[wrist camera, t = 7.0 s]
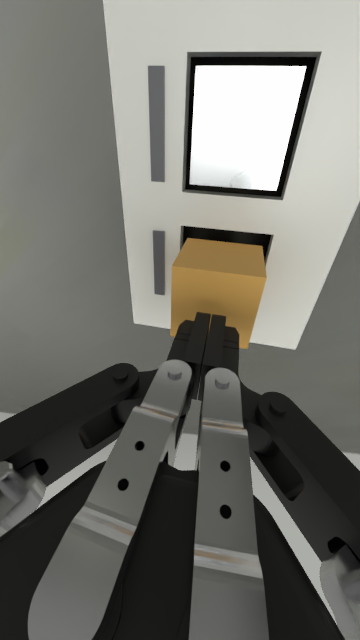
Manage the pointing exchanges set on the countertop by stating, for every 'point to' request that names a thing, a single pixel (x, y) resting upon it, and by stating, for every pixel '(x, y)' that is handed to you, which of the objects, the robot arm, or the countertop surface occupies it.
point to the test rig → (231, 208)
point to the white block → (242, 124)
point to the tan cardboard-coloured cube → (218, 284)
